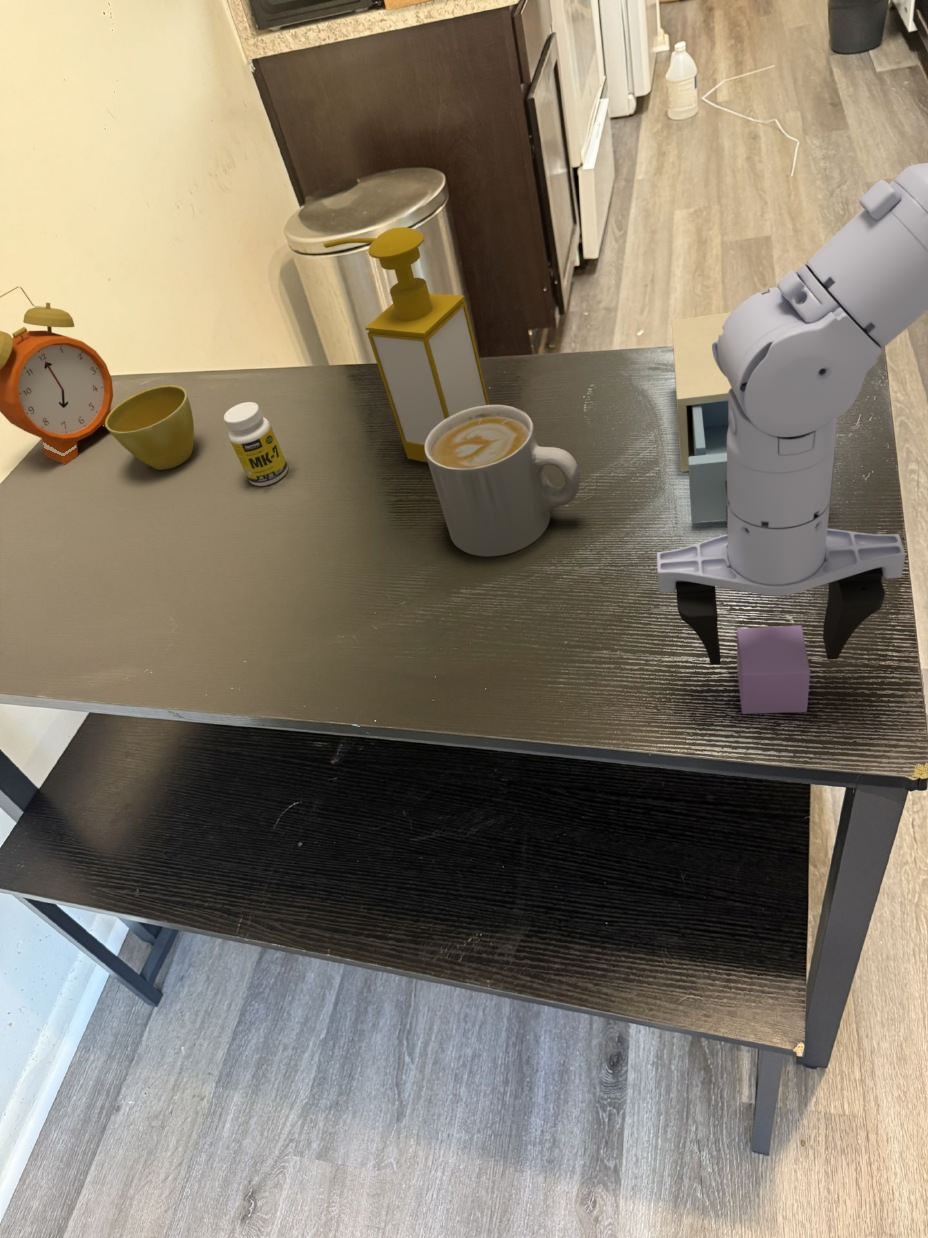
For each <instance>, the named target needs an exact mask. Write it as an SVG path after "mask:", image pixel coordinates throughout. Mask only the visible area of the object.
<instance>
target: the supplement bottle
mask: <svg viewBox="0 0 928 1238" xmlns="http://www.w3.org/2000/svg"><path fill="white" fill-rule="evenodd" d="M223 420H224V423H225V425H226V428H227V429H228V440H229V442H230V444H231V446H232V448H233V450H234V453H235V455H236V457H237V458H238V461H239V463H240V465H241V467H242V470H243V471H244V473H245V475H246V477H247V480H248V482H250V484H251V485H254V486H258V487H266V486H269V485H272V484H274V483H277V482H278V481H280V480H281V479H282V478H284V476H286V474H287V473H288V470H289V466H288V462H287V460H286V458H285V455H284V453H283V451H282V448H281V445H280V443H279V441H278V439H277V437H276V434H275V432H274V430H273V428H272V427H273V426H272V424H271V423H270V421H269V420H268V419H267V418H265V417H264V415H263V412H262V410H261V408H260V405H258V403H256V402H254V401H246V402H241V403H238V404H236V405H234V406H232V407H231V408H229V409H228V410H227V411H226V412H225V413H224V415H223Z"/></svg>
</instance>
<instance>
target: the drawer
mask: <svg viewBox="0 0 928 1238" xmlns="http://www.w3.org/2000/svg"><path fill="white" fill-rule="evenodd" d="M691 415H692V434H693V446H694V456H690V457H688V464H689V471H688V481H689V482H688V483H689V499H690V518H691V523H701V522H712V521H724V520H726V523H727V524H728V506H727V432H728V427H729V422H728V415H729V403H728V401H720V402H712V403H703V404H695V405H691ZM835 458H836V451H835V452H834V462H833V473H832V483H831V494H830V505H831V502H832V492H833V482H834V469H835V460H836V459H835ZM829 511H831V506H830V507H829Z"/></svg>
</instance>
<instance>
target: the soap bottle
mask: <svg viewBox="0 0 928 1238" xmlns="http://www.w3.org/2000/svg"><path fill="white" fill-rule="evenodd" d="M424 242H425V235H424V233H422V232H421V231H419V230H418V229H415V228H412V227H411V228H410V227H405V226H401V227H400V226H399V227H391V228H390V229H387V230H385V231H383V232H381V233H380V234H378V235H377V237H346V238H341V239H336V240H331V241H328V242H324V243H323V247H324V248H325V249H328V248H333V247H336V246H341V245H346V244H348V245H349V244H370V245H369V247H368V251H367V254H368V255H369V256H370V258H374V259H378V261H379V264H380V267H381V268H382V269H383V270H388V271H393V270H394V274H395V276H396V280H397V282H396V283H395V284H393V285H392V286H391V287H390V289H389V294H390V298H391V300H392V301H391V302H392V304H391V305H389V306H388V307H387V308H385V310H384V311H382V312H381V313H380V314H379V315H378V316H376V317H375V319H373V320H372V321H371V322H370V323H369V324H367V326H365V328H364V329H365V331H368V332H367V333H366V335H367V338H368V340H369V344H370V346H371V349H372V350H371V351H372V353H373V356H374V359H375V362H376V365H377V368H378V371H379V374H380V378H381V380H382V383H383V386H384V389H385V393H386V396H387V399H388V402H389V405H390V408H391V411H392V414H393V417H394V421H395V424H396V427H397V429H398V433H399V436H400V439H401V442H402V445H403V449H404V452H405V455H406V457H407V460H412V461H418V462H423V463H428V461H427V458H426V454H425V442H426V439H427V437H428V435H429V434H430V432H431V431H432V430H433V429H434V428H435V427H436V426H437V425H438V424H439V423H441V422H442V421H443V420H445V419H446V418H448V417H450V416H452V415H454V414H456V413H458V412H461V411H463V410H467V409H470V408H473V407H478V406H485V405H491V404H490V400H489V396H488V391H487V387H486V382H485V378H484V374H483V370H482V366H481V362H480V361H481V360H480V357H479V353H478V348H477V344H476V340H475V339H476V338H475V335H474V332H473V331H474V330H473V326H472V323H471V318H470V314H469V313H470V312H469V310H468V305H467V301H465V298H466V296H465V295H458V294H457V295H456V294H443V293H431V292H430V291H429V288H428V283H427V280H425V279H424V278H422V277H415V275H414V272H413V267H412V265H413V264H415V263H417V262H418V260H419V259H420V258H421V252H420V248H419V247H420V246H421V245H422V244H423V243H424Z"/></svg>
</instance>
